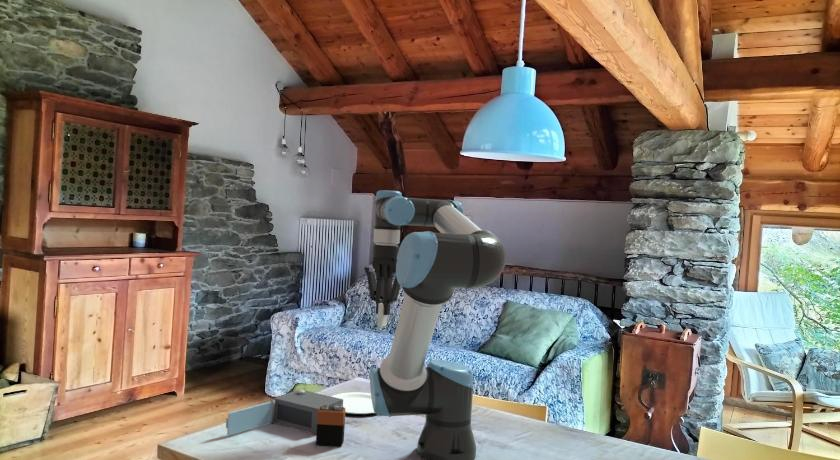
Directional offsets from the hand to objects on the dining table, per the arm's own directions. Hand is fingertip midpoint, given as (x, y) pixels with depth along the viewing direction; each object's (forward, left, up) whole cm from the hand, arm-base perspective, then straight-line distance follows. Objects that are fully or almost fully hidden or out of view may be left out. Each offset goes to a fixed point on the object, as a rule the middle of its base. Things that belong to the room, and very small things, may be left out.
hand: (382, 325), depth 172 cm
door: (+25, +25, -28) cm, 45 cm away
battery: (+2, +20, -29) cm, 35 cm away
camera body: (+15, +12, -28) cm, 34 cm away
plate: (+13, -10, -29) cm, 33 cm away
